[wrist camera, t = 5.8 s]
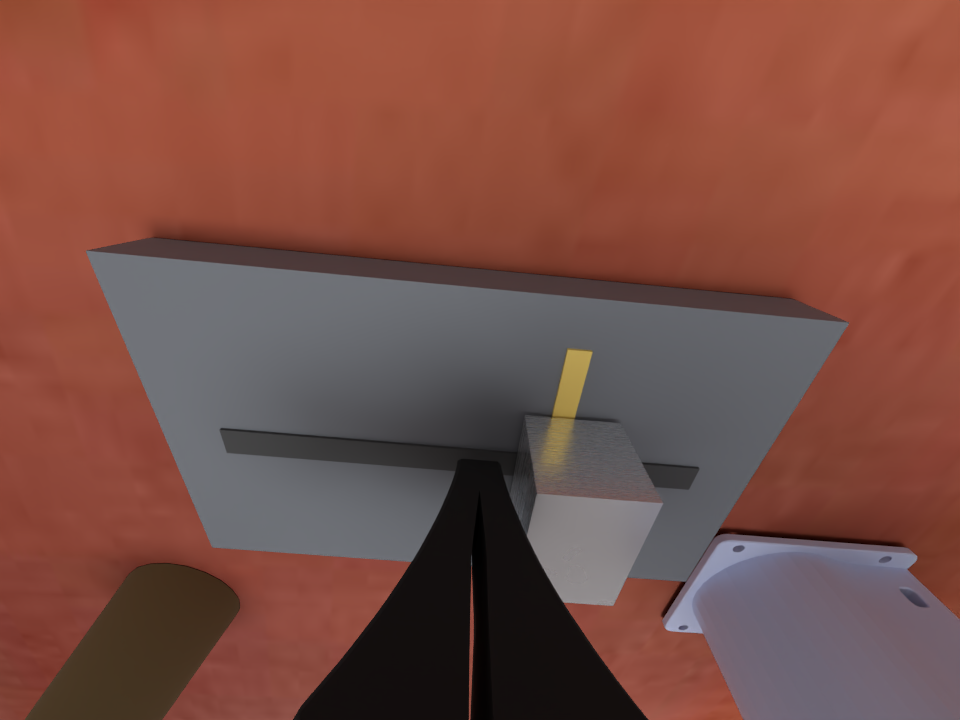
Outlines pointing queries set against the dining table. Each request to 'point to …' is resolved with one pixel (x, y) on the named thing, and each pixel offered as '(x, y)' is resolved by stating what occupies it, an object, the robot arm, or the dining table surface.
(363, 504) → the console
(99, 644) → the cork
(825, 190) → the dining table surface
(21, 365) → the dining table surface
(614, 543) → the fader
